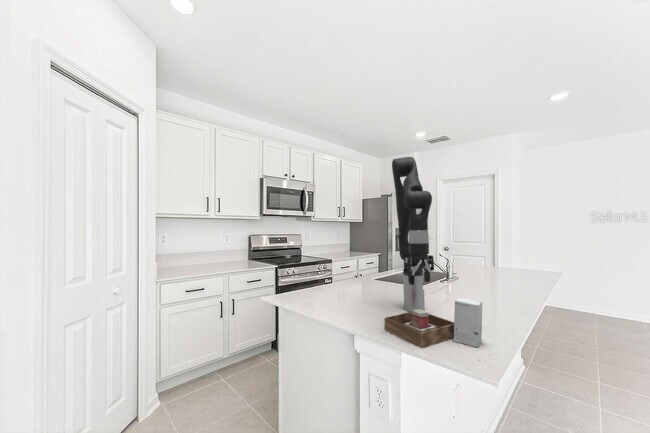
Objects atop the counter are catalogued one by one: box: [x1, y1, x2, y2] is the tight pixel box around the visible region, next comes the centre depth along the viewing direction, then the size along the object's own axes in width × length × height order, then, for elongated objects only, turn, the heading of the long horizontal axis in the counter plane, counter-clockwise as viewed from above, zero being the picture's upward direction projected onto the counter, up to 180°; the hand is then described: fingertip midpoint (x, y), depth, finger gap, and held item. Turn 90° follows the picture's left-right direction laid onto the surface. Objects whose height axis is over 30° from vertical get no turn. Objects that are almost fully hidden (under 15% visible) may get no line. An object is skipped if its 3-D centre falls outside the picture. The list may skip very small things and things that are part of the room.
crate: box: [384, 311, 454, 349], centre depth 110 cm, size 19×19×5 cm
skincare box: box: [453, 297, 483, 348], centre depth 101 cm, size 8×6×15 cm
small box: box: [412, 309, 429, 329], centre depth 110 cm, size 5×4×8 cm
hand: (419, 283), depth 110 cm, fingers open, 8 cm apart
